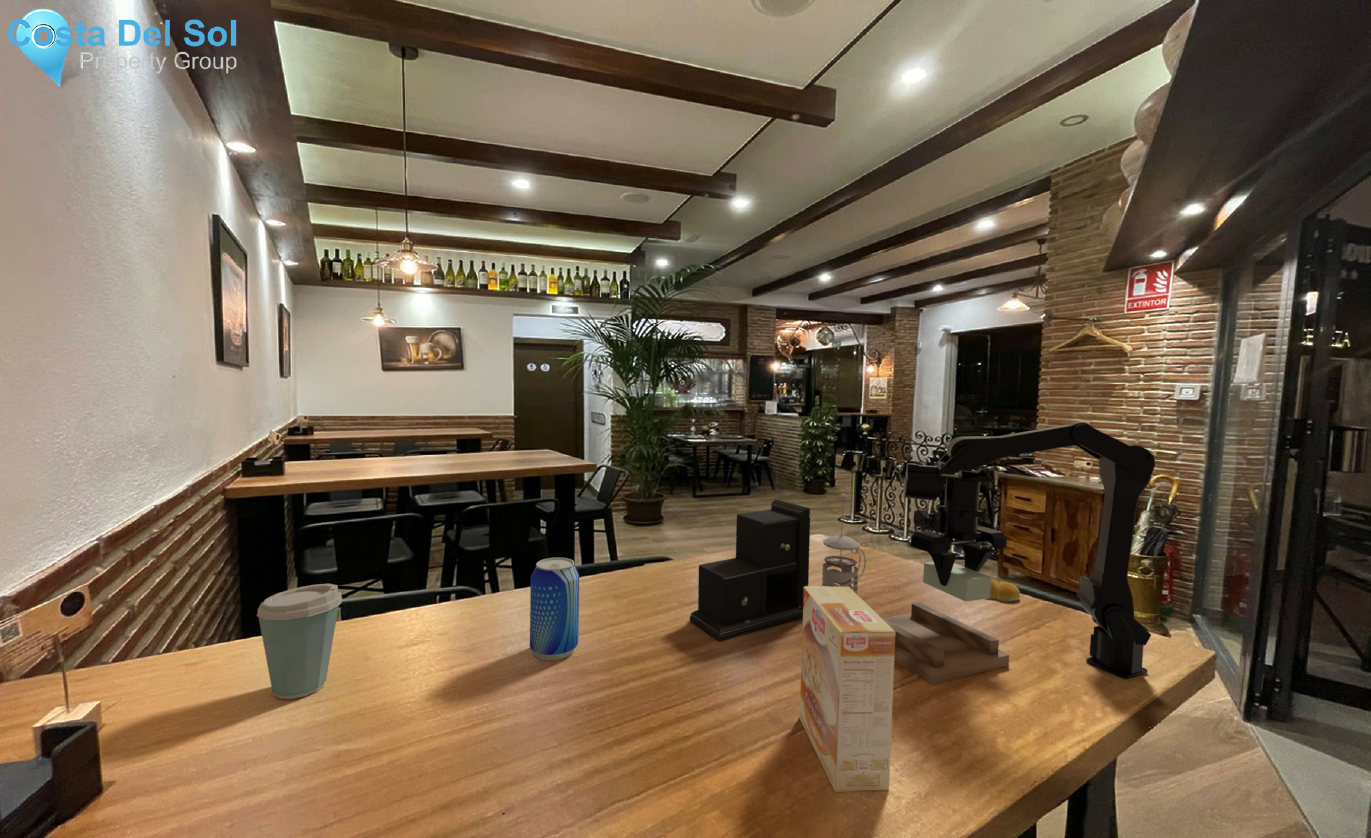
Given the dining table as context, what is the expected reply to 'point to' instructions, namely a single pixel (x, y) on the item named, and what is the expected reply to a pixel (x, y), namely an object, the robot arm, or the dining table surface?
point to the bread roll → (1004, 591)
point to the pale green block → (960, 582)
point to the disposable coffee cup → (299, 637)
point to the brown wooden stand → (942, 646)
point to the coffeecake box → (847, 687)
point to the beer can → (554, 609)
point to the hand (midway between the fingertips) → (955, 583)
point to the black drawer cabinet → (757, 574)
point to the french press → (841, 561)
